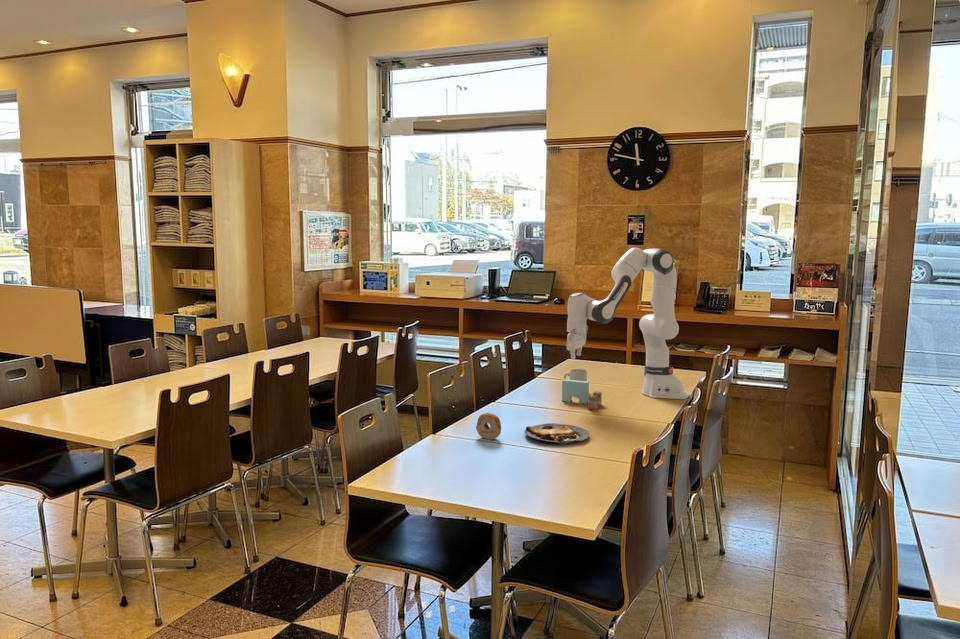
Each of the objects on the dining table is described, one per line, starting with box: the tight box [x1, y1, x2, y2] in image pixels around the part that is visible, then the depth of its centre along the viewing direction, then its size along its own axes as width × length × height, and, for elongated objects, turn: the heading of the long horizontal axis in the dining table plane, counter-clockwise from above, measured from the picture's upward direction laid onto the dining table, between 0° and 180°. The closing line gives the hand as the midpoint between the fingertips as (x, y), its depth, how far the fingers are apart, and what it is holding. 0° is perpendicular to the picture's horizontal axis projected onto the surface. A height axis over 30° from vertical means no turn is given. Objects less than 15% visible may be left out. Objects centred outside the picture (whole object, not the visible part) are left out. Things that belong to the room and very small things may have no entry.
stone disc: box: [475, 412, 502, 441], centre depth 267 cm, size 10×4×10 cm, turn 56°
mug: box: [563, 368, 588, 381], centre depth 345 cm, size 12×8×11 cm
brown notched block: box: [587, 390, 602, 411], centre depth 315 cm, size 12×3×6 cm, turn 156°
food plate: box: [524, 422, 590, 445], centre depth 270 cm, size 25×23×4 cm
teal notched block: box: [561, 378, 590, 405], centre depth 324 cm, size 12×3×10 cm, turn 66°
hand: (575, 357), depth 322 cm, fingers open, 8 cm apart
